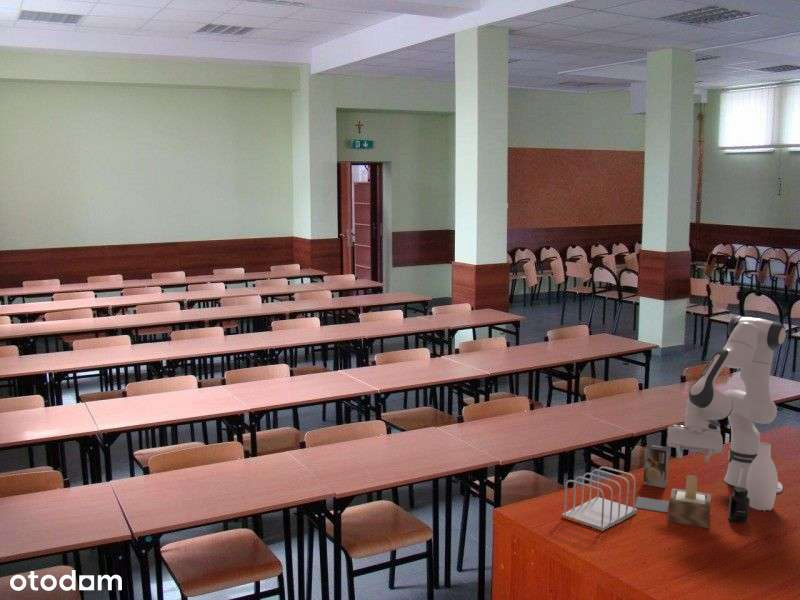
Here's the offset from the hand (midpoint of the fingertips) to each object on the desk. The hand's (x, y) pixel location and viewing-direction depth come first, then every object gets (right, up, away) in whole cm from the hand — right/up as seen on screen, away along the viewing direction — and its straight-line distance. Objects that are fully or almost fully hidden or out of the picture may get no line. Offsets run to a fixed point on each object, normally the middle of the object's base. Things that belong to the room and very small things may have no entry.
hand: (693, 459), depth 294 cm
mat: (-13, -20, +7) cm, 25 cm away
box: (-3, -21, -5) cm, 22 cm away
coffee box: (-5, -17, +30) cm, 35 cm away
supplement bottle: (+15, -22, -6) cm, 27 cm away
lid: (-3, -14, -5) cm, 16 cm away
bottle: (+29, -20, +8) cm, 36 cm away
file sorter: (-37, -21, -4) cm, 43 cm away
